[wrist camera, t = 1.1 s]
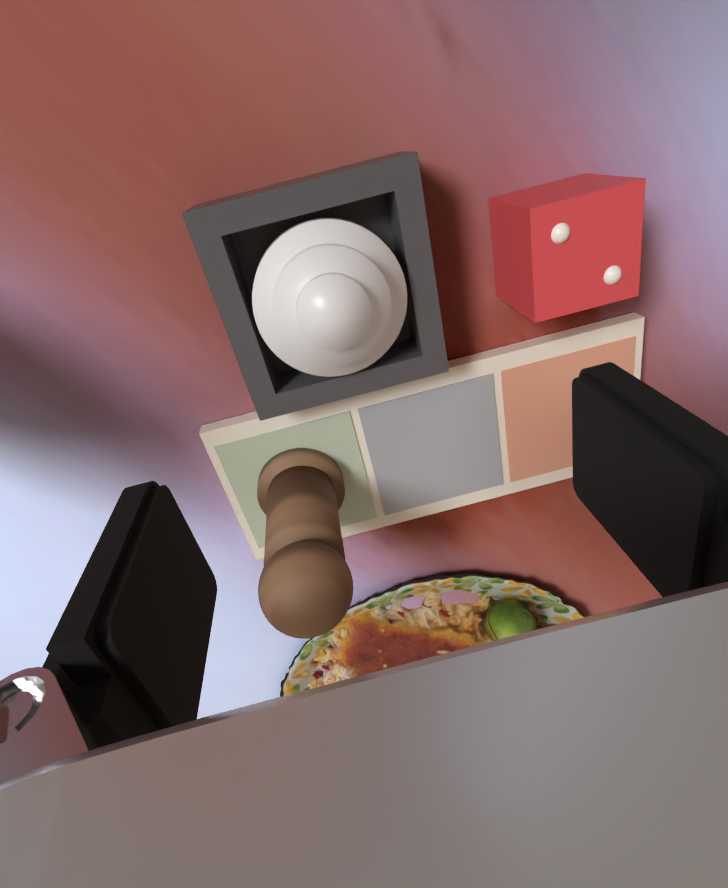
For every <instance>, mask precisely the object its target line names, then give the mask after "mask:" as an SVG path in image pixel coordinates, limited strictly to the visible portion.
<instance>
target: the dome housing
mask: <svg viewBox="0 0 728 888" xmlns="http://www.w3.org/2000/svg"><path fill="white" fill-rule="evenodd" d="M182 215H183V217H184V220H185V223H186V225H187V228H188V231H189V233H190V236H191V239H192V241H193V244H194V247H195V249H196V252H197V254H198V257H199V260H200V262H201V265H202V268H203V270H204V273H205V276H206V278H207V281H208V284H209V286H210V289H211V292H212V294H213V297H214V300H215V302H216V305H217V308H218V310H219V313H220V316H221V318H222V321H223V324H224V326H225V329H226V332H227V334H228V337H229V340H230V342H231V345H232V348H233V350H234V353H235V355H236V358H237V361H238V363H239V366H240V369H241V371H242V374H243V377H244V379H245V382H246V385H247V387H248V390H249V393H250V395H251V398H252V401H253V403H254V406H255V409H256V411H257V414H258V417H259V419H260V421H262V420H266V419H269V418H273V417H277V416H281V415H285V414H288V413H292V412H296V411H300V410H304V409H308V408H311V407H315V406H319V405H323V404H327V403H330V402H334V401H338V400H342V399H346V398H350V397H353V396H357V395H361V394H365V393H369V392H372V391H376V390H380V389H384V388H388V387H391V386H395V385H399V384H403V383H407V382H411V381H414V380H418V379H422V378H426V377H430V376H433V375H437V374H441V373H445V372H449V367H448V361H447V354H446V347H445V340H444V333H443V326H442V319H441V312H440V305H439V298H438V292H437V285H436V278H435V271H434V264H433V257H432V250H431V243H430V236H429V229H428V223H427V216H426V209H425V202H424V195H423V188H422V181H421V174H420V167H419V160H418V153H417V152H397V153H393V154H389V155H385V156H382V157H378V158H374V159H370V160H366V161H362V162H359V163H355V164H351V165H347V166H343V167H339V168H336V169H332V170H328V171H324V172H320V173H316V174H313V175H309V176H305V177H301V178H297V179H293V180H290V181H286V182H282V183H278V184H274V185H270V186H267V187H263V188H259V189H255V190H251V191H247V192H244V193H240V194H236V195H232V196H228V197H225V198H221V199H217V200H213V201H209V202H205V203H202V204H198V205H194V206H193V207H191V208H190V209H188V210H186V211H185V212H183V213H182ZM319 217H335V218H342V219H346V220H350V221H353V222H355V223H358V224H360V225H362V226H363V227H365V228H367V229H369V230H370V231H371V232H373V233H374V234H375V235H376V236H378V237H379V238H380V239H381V240H382V241H383V242H384V243H385V244H386V245H387V246H388V247H389V249H390V250H391V251H392V253H393V254H394V255H395V257H396V259H397V261H398V263H399V264H400V267H401V269H402V272H403V274H404V278H405V282H406V288H407V309H406V315H405V319H404V322H403V325H402V328H401V330H400V333H399V334H398V336H397V338H396V340H395V341H394V343H393V344H392V346H391V347H390V348H389V349H388V351H387V352H386V353H385V354H384V355H383V356H382V357H380V358H379V359H378V360H377V361H376V362H374V363H373V364H371V365H369V366H368V367H366V368H364V369H362V370H360V371H357V372H354V373H351V374H348V375H343V376H334V377H326V376H317V375H311V374H308V373H305V372H302V371H300V370H297V369H295V368H293V367H291V366H290V365H288V364H286V363H285V362H284V361H282V360H281V359H280V358H279V357H277V356H276V354H275V353H274V352H273V351H272V350H271V349H270V348H269V347H268V345H267V344H266V343H265V341H264V339H263V338H262V336H261V334H260V332H259V330H258V327H257V325H256V322H255V318H254V314H253V307H252V290H253V283H254V279H255V275H256V271H257V268H258V265H259V263H260V260H261V258H262V256H263V255H264V253H265V251H266V250H267V248H268V247H269V246H270V244H271V243H272V242H273V241H274V240H275V239H276V238H277V237H278V236H279V235H280V234H281V233H283V232H284V231H285V230H287V229H288V228H290V227H292V226H294V225H296V224H298V223H300V222H303V221H306V220H309V219H314V218H319Z"/></svg>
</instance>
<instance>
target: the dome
mask: <svg viewBox="0 0 728 888" xmlns="http://www.w3.org/2000/svg"><path fill="white" fill-rule="evenodd" d="M252 307H253V314H254V318H255V322H256V325H257V327H258V330H259V332H260V334H261V336H262V338H263V339H264V341H265V343H266V344H267V345H268V347H269V348H270V349H271V350H272V351H273V352H274V353H275V354H276V356H277V357H279V358H280V359H281V360H282V361H284V362H285V363H286V364H288V365H290V366H291V367H293V368H295V369H297V370H300V371H302V372H305V373H308V374H311V375H317V376H326V377H334V376H343V375H348V374H351V373H354V372H357V371H360V370H362V369H364V368H366V367H368V366H369V365H371V364H373V363H374V362H376V361H377V360H378V359H379V358H380V357H382V356H383V355H384V354H385V353H386V352H387V351H388V349H389V348H390V347H391V346H392V344H393V343H394V341H395V340H396V338H397V336H398V334H399V333H400V330H401V328H402V325H403V322H404V319H405V315H406V309H407V288H406V282H405V278H404V274H403V272H402V269H401V267H400V264H399V263H398V261H397V259H396V257H395V255H394V254H393V253H392V251H391V250H390V249H389V247H388V246H387V245H386V244H385V243H384V242H383V241H382V240H381V239H380V238H379V237H378V236H376V235H375V234H374V233H373V232H371V231H370V230H369V229H367V228H365V227H363V226H362V225H360V224H358V223H355V222H353V221H350V220H346V219H342V218H335V217H319V218H314V219H309V220H306V221H303V222H300V223H298V224H296V225H294V226H292V227H290V228H288V229H287V230H285V231H284V232H283V233H281V234H280V235H279V236H278V237H277V238H276V239H275V240H274V241H273V242H272V243H271V244H270V246H269V247H268V248H267V250H266V251H265V253H264V255H263V256H262V258H261V260H260V263H259V265H258V268H257V271H256V275H255V279H254V283H253V290H252Z"/></svg>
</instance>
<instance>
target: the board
mask: <svg viewBox="0 0 728 888" xmlns="http://www.w3.org/2000/svg"><path fill="white" fill-rule="evenodd" d="M644 318H645V317H644V316H641V315H639V314H637V313H635V312H633V313H629V314H625V315H621V316H618V317H614V318H610V319H606V320H602V321H598V322H595V323H591V324H587V325H583V326H579V327H576V328H572V329H568V330H564V331H560V332H556V333H553V334H549V335H545V336H541V337H537V338H534V339H530V340H526V341H522V342H518V343H515V344H511V345H507V346H503V347H499V348H495V349H492V350H488V351H484V352H480V353H476V354H473V355H469V356H465V357H461V358H457V359H453V360H450V361H448V367H449V372H445V373H441V374H437V375H433V376H430V377H426V378H422V379H418V380H414V381H411V382H407V383H403V384H399V385H395V386H391V387H388V388H384V389H380V390H376V391H372V392H369V393H365V394H361V395H357V396H353V397H350V398H346V399H342V400H338V401H334V402H330V403H327V404H323V405H319V406H315V407H311V408H308V409H304V410H300V411H296V412H292V413H288V414H285V415H281V416H277V417H273V418H269V419H266V420H262V421H260V419H259V417H258V414H257V411H255V412H251V413H247V414H244V415H240V416H236V417H232V418H228V419H225V420H221V421H217V422H213V423H209V424H205V425H202V426H201V429H200V432H199V435H200V437H201V439H202V441H203V444H204V446H205V448H206V450H207V452H208V455H209V457H210V459H211V461H212V463H213V466H214V468H215V470H216V472H217V474H218V477H219V479H220V481H221V483H222V485H223V488H224V490H225V492H226V494H227V496H228V499H229V501H230V503H231V505H232V507H233V510H234V512H235V514H236V516H237V518H238V521H239V523H240V525H241V527H242V529H243V532H244V534H245V536H246V538H247V540H248V543H249V545H250V547H251V549H252V551H253V554H254V556H255V558H256V560H260V559H264V552H265V532H266V515H265V513H264V512H263V511H262V509H261V507H260V505H259V503H258V498H257V487H258V478H259V475H260V472H261V470H262V468H263V467H264V465H265V464H266V463H267V462H268V461H269V460H270V459H271V458H272V457H274V456H275V455H277V454H278V453H281V452H283V451H286V450H289V449H294V448H310V449H314V450H318V451H320V452H323V453H325V454H327V455H328V456H329V457H331V458H332V459H333V460H334V461H335V462H336V463H337V464H338V466H339V468H340V469H341V472H342V475H343V480H344V486H345V497H344V501H343V503H342V505H341V507H340V509H339V510H338V514H339V520H340V527H341V534H342V538H343V537H347V536H351V535H355V534H359V533H362V532H366V531H370V530H374V529H378V528H381V527H385V526H389V525H393V524H397V523H401V522H404V521H408V520H412V519H416V518H420V517H423V516H427V515H431V514H435V513H439V512H442V511H446V510H450V509H454V508H458V507H461V506H465V505H469V504H473V503H477V502H480V501H484V500H488V499H492V498H496V497H499V496H503V495H507V494H511V493H515V492H518V491H522V490H526V489H530V488H534V487H537V486H541V485H545V484H549V483H553V482H557V481H560V480H564V479H568V478H572V477H573V458H572V381H573V379H574V378H577V377H579V373H580V371H581V370H582V369H584V368H588V367H592V366H596V365H600V364H604V363H607V362H612V363H614V364H616V365H617V366H619V367H620V368H622V369H624V370H625V371H627V372H628V373H630V374H631V375H633V376H634V377H636V378H638V379H639V380H640V376H641V362H642V347H643V333H644Z"/></svg>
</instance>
